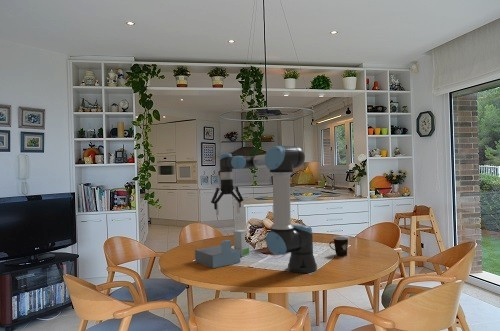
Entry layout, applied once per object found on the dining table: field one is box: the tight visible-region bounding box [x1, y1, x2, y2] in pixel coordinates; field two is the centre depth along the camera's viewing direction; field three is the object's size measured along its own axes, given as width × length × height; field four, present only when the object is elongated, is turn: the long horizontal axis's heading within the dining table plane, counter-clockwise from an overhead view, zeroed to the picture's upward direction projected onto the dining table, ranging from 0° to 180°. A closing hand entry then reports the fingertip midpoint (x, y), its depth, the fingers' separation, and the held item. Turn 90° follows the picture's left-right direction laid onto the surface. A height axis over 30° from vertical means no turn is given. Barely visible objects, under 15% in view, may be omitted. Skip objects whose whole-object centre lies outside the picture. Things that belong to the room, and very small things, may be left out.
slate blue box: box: [194, 244, 239, 269], centre depth 206 cm, size 20×18×7 cm
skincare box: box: [232, 229, 250, 258], centre depth 221 cm, size 8×7×16 cm
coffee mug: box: [328, 236, 349, 257], centre depth 212 cm, size 12×9×10 cm
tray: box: [212, 239, 241, 269], centre depth 205 cm, size 20×18×14 cm
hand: (227, 214), depth 215 cm, fingers open, 13 cm apart
